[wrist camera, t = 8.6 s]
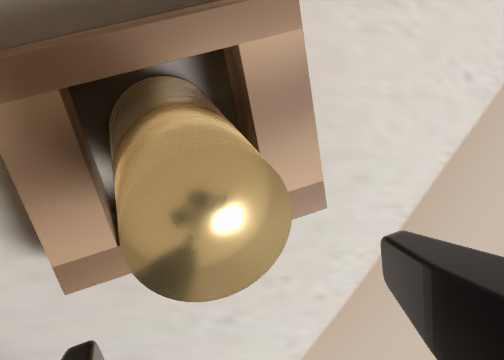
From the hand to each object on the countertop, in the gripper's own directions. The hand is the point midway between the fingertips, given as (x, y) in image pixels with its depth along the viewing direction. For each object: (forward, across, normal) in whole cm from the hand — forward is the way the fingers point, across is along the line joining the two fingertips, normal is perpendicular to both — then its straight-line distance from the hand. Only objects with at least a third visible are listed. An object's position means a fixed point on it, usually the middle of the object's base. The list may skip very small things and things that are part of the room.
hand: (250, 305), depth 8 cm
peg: (+11, 0, 0) cm, 11 cm away
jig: (+11, 0, 0) cm, 11 cm away
